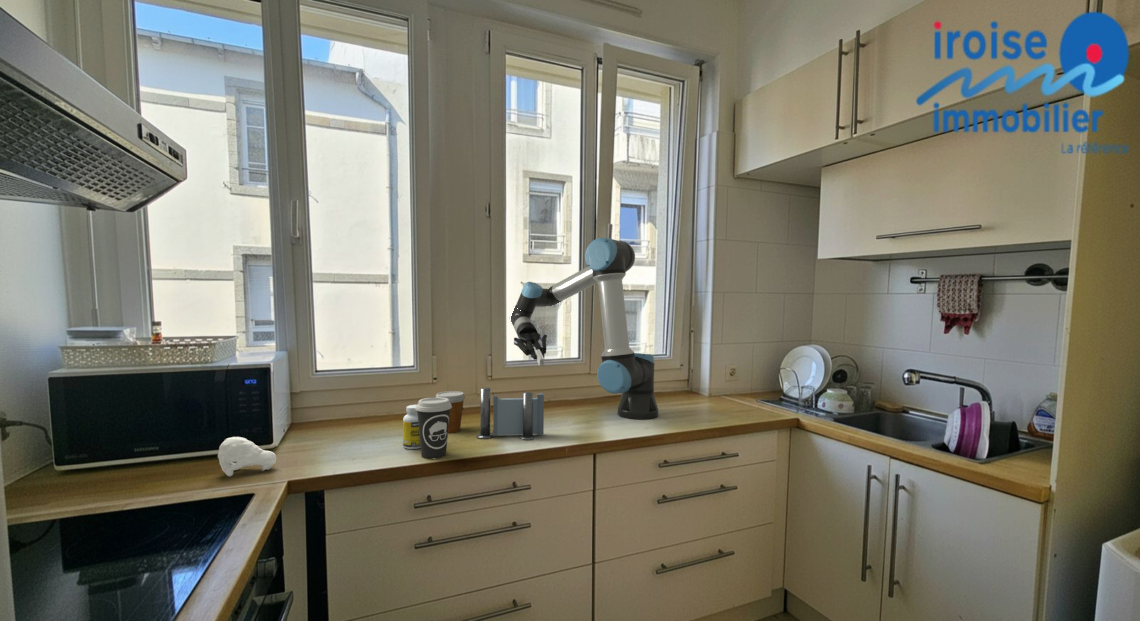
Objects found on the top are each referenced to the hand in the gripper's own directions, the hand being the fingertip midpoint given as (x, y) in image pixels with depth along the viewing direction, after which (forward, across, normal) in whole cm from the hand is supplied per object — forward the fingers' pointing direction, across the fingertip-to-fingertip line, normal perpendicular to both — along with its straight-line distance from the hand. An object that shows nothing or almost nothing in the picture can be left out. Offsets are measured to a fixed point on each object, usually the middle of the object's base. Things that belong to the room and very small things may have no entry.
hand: (541, 362), depth 162 cm
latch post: (+24, +10, -11) cm, 28 cm away
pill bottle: (+21, +43, -10) cm, 49 cm away
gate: (+20, +13, -12) cm, 27 cm away
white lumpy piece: (+27, +82, -4) cm, 87 cm away
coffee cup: (+30, +38, -6) cm, 49 cm away
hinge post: (+18, +23, -13) cm, 32 cm away
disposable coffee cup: (+9, +32, -16) cm, 37 cm away
